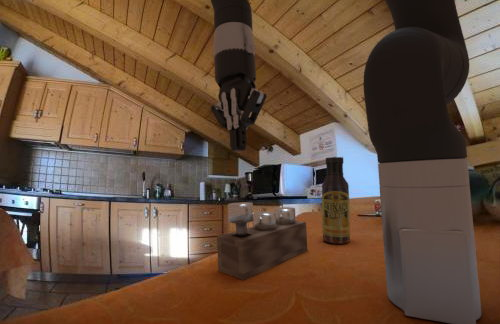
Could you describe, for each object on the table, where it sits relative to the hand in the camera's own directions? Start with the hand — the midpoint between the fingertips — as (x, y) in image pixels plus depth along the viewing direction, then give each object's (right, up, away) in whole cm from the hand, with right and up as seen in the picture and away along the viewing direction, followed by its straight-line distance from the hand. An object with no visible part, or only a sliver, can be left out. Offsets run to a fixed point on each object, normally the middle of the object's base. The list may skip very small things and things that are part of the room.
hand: (238, 150), depth 45 cm
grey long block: (+5, -21, +3) cm, 22 cm away
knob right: (+10, -19, +8) cm, 23 cm away
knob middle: (+5, -19, +3) cm, 20 cm away
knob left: (+1, -16, -1) cm, 16 cm away
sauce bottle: (+23, -21, +14) cm, 34 cm away
